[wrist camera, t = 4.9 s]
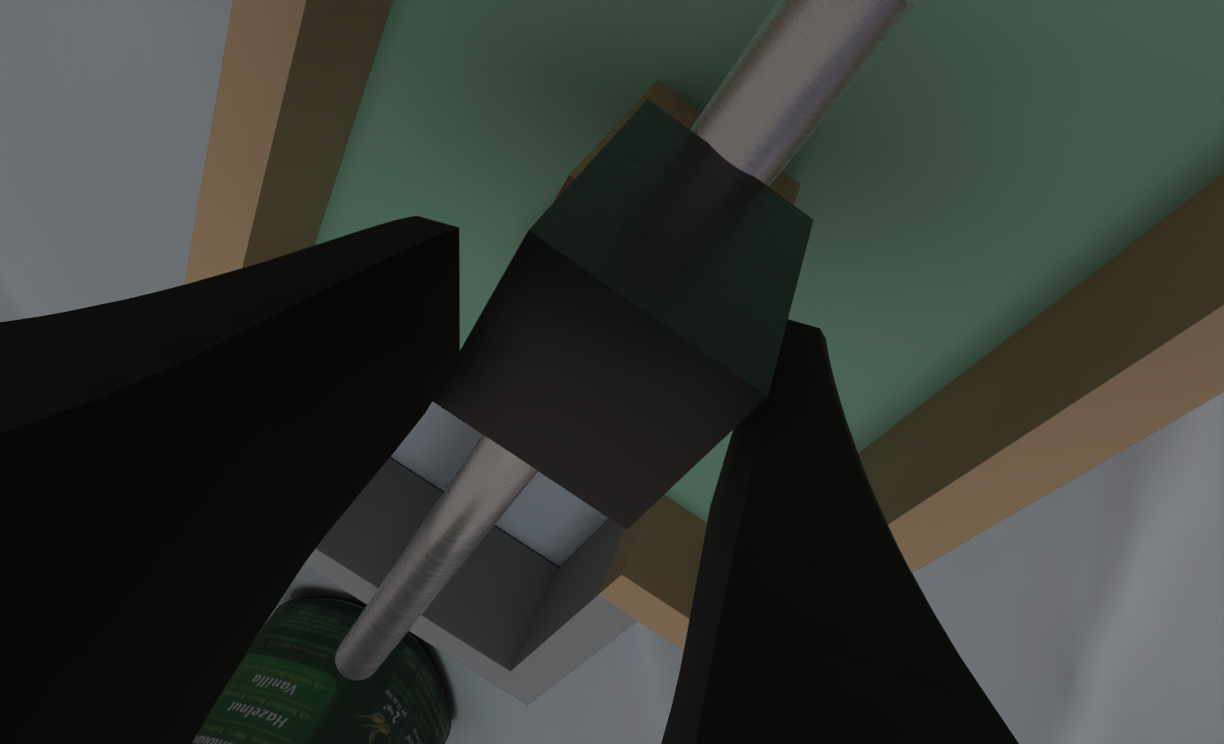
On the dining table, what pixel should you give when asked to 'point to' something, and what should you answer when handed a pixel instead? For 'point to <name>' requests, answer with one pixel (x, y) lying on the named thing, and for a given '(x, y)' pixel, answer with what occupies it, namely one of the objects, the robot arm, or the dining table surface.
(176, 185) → the dining table surface
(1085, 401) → the pitch
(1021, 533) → the dining table surface
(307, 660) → the coffee jar
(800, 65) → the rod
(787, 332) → the robot arm
